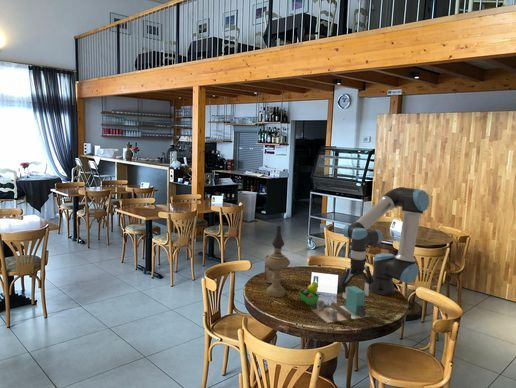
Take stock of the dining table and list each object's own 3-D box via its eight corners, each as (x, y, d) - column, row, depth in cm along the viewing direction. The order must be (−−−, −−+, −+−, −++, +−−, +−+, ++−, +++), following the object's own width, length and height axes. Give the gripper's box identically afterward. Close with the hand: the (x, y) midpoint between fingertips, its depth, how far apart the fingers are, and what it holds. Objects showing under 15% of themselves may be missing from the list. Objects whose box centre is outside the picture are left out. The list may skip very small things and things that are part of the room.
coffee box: (280, 281, 260) (281, 256, 258) (277, 284, 254) (279, 259, 252) (266, 279, 263) (267, 255, 261) (263, 282, 257) (264, 257, 255)
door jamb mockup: (352, 305, 226) (353, 295, 225) (370, 317, 211) (371, 306, 210) (311, 310, 216) (311, 300, 215) (327, 323, 201) (327, 313, 201)
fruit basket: (297, 299, 232) (298, 279, 230) (311, 297, 235) (312, 278, 233) (307, 306, 221) (308, 286, 220) (321, 305, 224) (322, 285, 223)
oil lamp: (283, 288, 248) (287, 223, 243) (292, 297, 234) (295, 229, 228) (260, 289, 244) (262, 224, 239) (266, 299, 230) (270, 229, 224)
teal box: (353, 307, 222) (354, 286, 220) (363, 313, 213) (364, 291, 212) (345, 308, 220) (346, 286, 218) (355, 315, 212) (356, 292, 210)
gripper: (373, 254, 221) (370, 291, 224) (333, 257, 212) (331, 296, 215) (382, 257, 214) (379, 296, 217) (341, 262, 205) (339, 302, 208)
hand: (355, 296), depth 216 cm, fingers open, 13 cm apart
